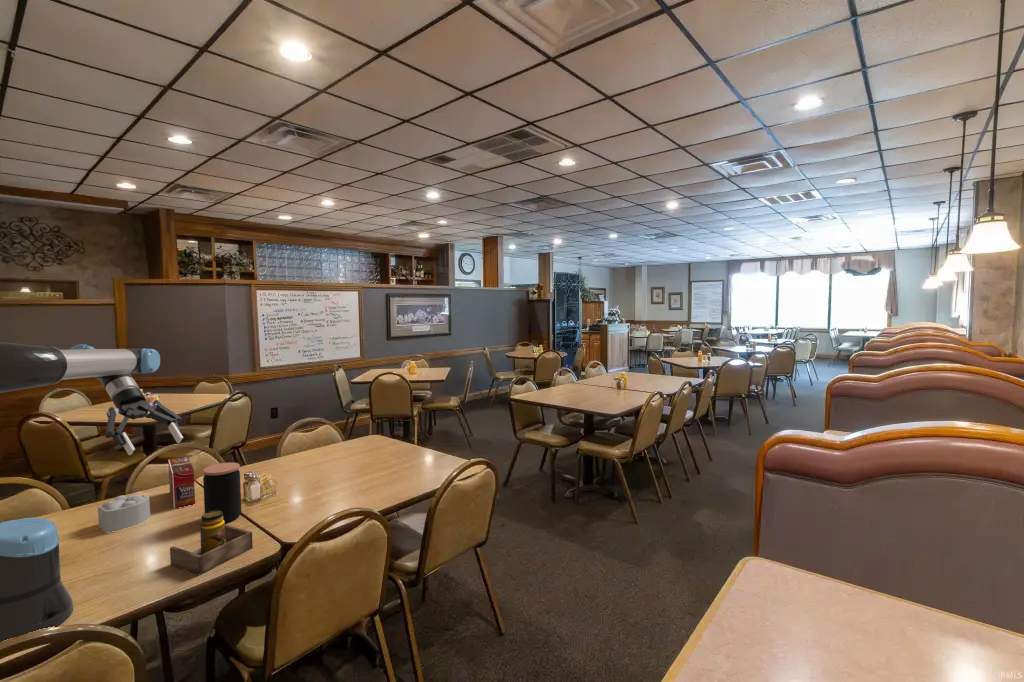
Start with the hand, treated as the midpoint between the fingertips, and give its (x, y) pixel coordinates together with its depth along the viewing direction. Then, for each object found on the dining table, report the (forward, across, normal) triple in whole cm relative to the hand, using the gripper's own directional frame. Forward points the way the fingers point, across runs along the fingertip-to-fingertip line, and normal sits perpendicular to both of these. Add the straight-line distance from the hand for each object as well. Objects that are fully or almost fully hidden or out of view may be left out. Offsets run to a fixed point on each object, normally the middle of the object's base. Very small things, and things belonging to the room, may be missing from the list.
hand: (157, 446), depth 143 cm
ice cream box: (+2, -23, -40) cm, 46 cm away
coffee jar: (+24, -17, -18) cm, 35 cm away
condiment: (+38, +1, -3) cm, 38 cm away
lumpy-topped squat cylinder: (+5, -2, -38) cm, 38 cm away
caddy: (+38, 0, -4) cm, 39 cm away
